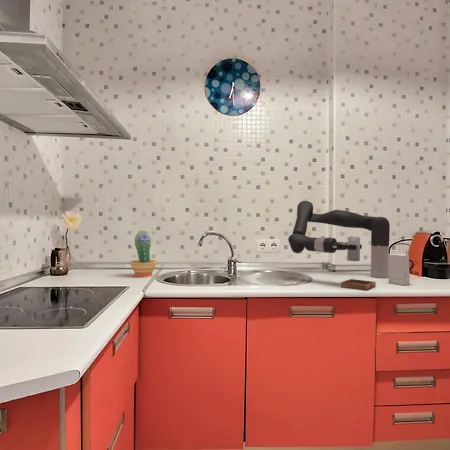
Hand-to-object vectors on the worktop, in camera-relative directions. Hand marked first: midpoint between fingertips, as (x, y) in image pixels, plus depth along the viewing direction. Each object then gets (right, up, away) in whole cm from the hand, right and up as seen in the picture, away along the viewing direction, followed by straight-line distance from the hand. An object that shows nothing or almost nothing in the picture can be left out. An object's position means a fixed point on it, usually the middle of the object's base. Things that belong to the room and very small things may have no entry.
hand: (358, 247), depth 176 cm
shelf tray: (0, -19, 0) cm, 19 cm away
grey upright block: (-2, -6, +2) cm, 7 cm away
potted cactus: (-108, -18, +30) cm, 114 cm away
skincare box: (+23, -19, +9) cm, 31 cm away
